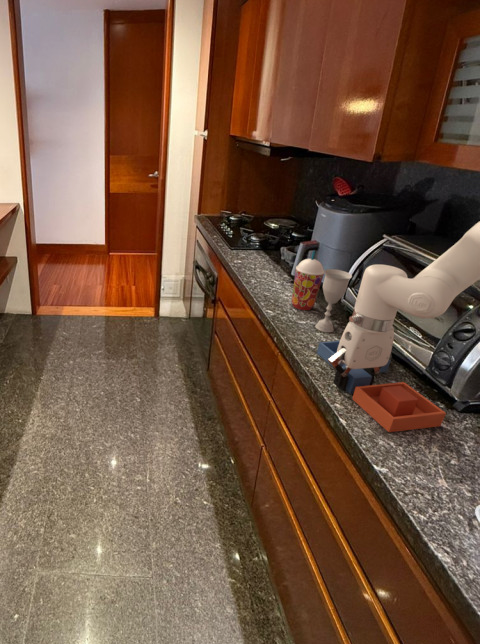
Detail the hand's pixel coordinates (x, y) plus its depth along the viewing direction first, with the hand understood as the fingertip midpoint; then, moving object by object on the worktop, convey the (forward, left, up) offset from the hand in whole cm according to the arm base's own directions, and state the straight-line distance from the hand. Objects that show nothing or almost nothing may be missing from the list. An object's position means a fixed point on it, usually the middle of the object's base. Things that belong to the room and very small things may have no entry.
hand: (352, 384), depth 93 cm
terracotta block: (-3, +9, 0) cm, 9 cm away
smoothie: (-14, -40, -1) cm, 42 cm away
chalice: (-12, -26, -1) cm, 29 cm away
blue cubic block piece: (0, 0, -1) cm, 1 cm away
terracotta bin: (-3, +9, -1) cm, 10 cm away
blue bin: (-7, -9, -1) cm, 11 cm away
